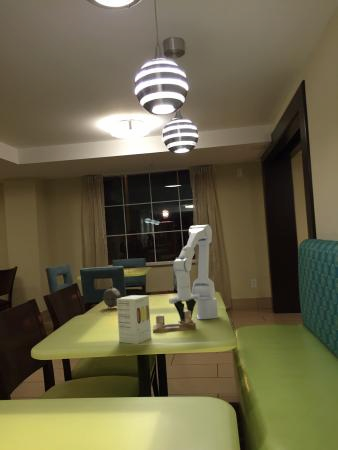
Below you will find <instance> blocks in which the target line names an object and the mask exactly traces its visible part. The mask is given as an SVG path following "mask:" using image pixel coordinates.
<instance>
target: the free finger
mask: <svg viewBox="0 0 338 450" xmlns="http://www.w3.org/2000/svg"><path fill="white" fill-rule="evenodd" d="M192 318H193V317H192ZM192 318H191V311H190V310H187V308H186V309H185V308H184V319H180V318H179V321H181V322H182V323H185V324H187V323H191V322H192V320H193V319H192Z"/></svg>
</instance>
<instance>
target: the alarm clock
mask: <svg viewBox="0 0 338 450" xmlns="http://www.w3.org/2000/svg"><path fill="white" fill-rule="evenodd" d="M110 283H112V284H111V285H110ZM108 286H109V288H108V289H106V290H104V293H103V296H102V299H103V302H104V304H105V306H107V308H108V309H109V310H111V308H115V307H117V299H119V298H122V294H121V292H120V290H118V288H116V287H113V286H114V282H113V281H109V282H108Z"/></svg>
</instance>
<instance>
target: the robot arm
mask: <svg viewBox="0 0 338 450" xmlns="http://www.w3.org/2000/svg"><path fill="white" fill-rule="evenodd" d="M188 236H189V238H188V240H187V242H186V243H187V244H186V245H185V246H183V247H182V249H181V251H180V254H179V256H178V258H176V259H175V260H173V265H172V269H173V271H174V276H175V277H176V288H177V290H176V291H177V296H175V297H172V298H169V299H168V303H169V304H170V305H173V306H174V307H175V309H176V311H177V313H178V316H179V320H180V319H184V310H185V305H186V309H187V310H190V311H191V318H193V312H194V309H195V306H196V311H197V315H195V317H196V319H197V320H208V319H218V318H219V313H218V302H217V298H216V297H214V296H215V294H216V289H215V283H214V281H213V280H212V279H211V278H209V266H210V262H209V261H210V244H211V243H212V242H213V241H212V240H213V230H212V227H211V226H210V224H209V223H208V224H207V223H206V224H202V225H191V226H190V227H189V228H188ZM197 245H198V266H197V267H198V269H197V271H198V272H197V278H196V279H195V280H194V281H193V283H192V289H191V279H190V271H191V270H192V263H193V262H192V260H193V257H194V255H195V247H196V246H197ZM184 302H185V303H184Z"/></svg>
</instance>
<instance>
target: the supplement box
mask: <svg viewBox="0 0 338 450" xmlns="http://www.w3.org/2000/svg"><path fill="white" fill-rule="evenodd" d="M116 307H117V308H116V310H117V311H116V312H117V325H118V326H117V327H118V340H119V343H125V344H134V345H138V344H141V343H143V342H145V341H147V340H150V339H152V329H151V328H152V326H151V313H150V312H151V311H150V299H149V295H139V294H138V295H136V294H135V295H134V294H133V295H132V294H131V295H127V296H124V297H123V296H122V297H121V298H119V299H117V306H116Z"/></svg>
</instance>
